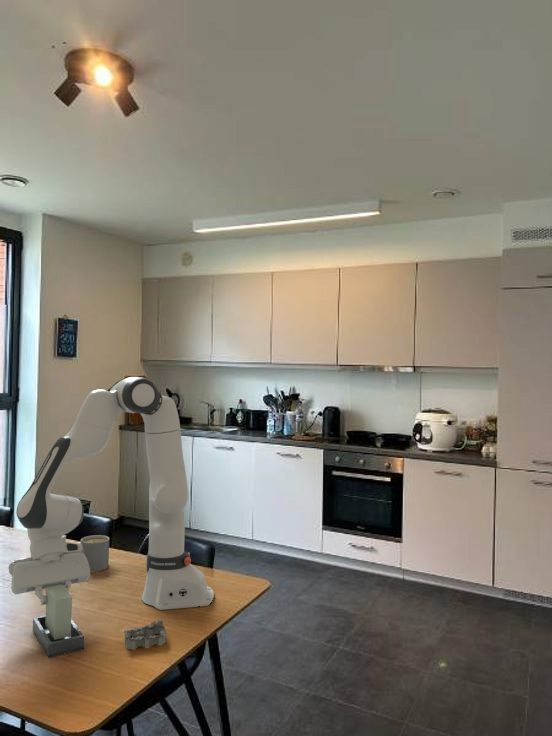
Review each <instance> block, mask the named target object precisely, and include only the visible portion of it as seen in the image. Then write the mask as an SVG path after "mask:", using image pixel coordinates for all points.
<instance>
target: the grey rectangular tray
mask: <svg viewBox="0 0 552 736" xmlns="http://www.w3.org/2000/svg"><path fill="white" fill-rule="evenodd" d="M45 618H46V614H44V615H40V616H36V617H33V618H32V632H33V633H34V635H35V637H36V638H37V641H38V642H39V645H40V646H41V648H42V647H43V648H42V650H43V649H44V650H43V651H44V653H45V655H46V657H47V656H48V657H47V658H48V659H50V657H51V658H53V657H54V658H55V657H58V656H61V654H62V655H65V654H64V653H66V654H69V653H68V652H70V653H73V651H74V652H77V651H76V650H78V651H82V650H84V649H85V635H84V634H83V632H82V631H81V629H80V628H79V627H78V625H77V624H76V622H75V621H74V620H73V619H72V618H71V636H69V637H65V638H61V639H57V640H54V638H53V637H52V635H51V634H50V632H49V630H48V629H47V627H46V625H45ZM81 649H82V650H81ZM57 655H58V656H57Z"/></svg>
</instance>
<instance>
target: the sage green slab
mask: <svg viewBox="0 0 552 736" xmlns="http://www.w3.org/2000/svg"><path fill="white" fill-rule="evenodd" d="M66 589H67V588H66ZM66 589H65V588H64V586H63V585H58V586H52V587H47V589H46V594H45V596H46V595H47V597H48V598H47V599H48V603H47V604H45V615H46V618H45V625H46V627H47V629H48V630H49V632H50V634H51V635H52V637H53V638H54V640H57V639H61V638H65V637H69V636H71V619H72V614H73V613H72V612H73V611H72V609H73V596H72V595H71V594H70V592H69V591H67V590H66Z"/></svg>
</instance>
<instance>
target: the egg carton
mask: <svg viewBox="0 0 552 736" xmlns="http://www.w3.org/2000/svg"><path fill="white" fill-rule="evenodd" d="M155 634H157V635H155ZM158 634H159V635H158ZM152 636H153V637H152ZM167 636H168V635H167V631H166V629H165V624H164V621H163V620H157V621H153V622H151V623H150V624H145V625H144V626H140V627H139V626H138V627H134V628H132V629H124V643H125V642H126V643H125V649H129V648H130V650H131V649H135V650H136V649H137V648H139V647H138V646H143V648H144V647H145V648H144V649H148V648H147V647H149V648H150V645H151V646H153V645H152V644H157V645H156V646H158V647H160V646H159V645H162V646H163V645H164V644H165V643H167ZM131 637H133V638H131ZM163 643H164V644H163Z"/></svg>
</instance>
